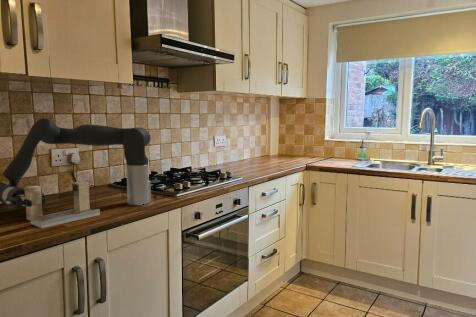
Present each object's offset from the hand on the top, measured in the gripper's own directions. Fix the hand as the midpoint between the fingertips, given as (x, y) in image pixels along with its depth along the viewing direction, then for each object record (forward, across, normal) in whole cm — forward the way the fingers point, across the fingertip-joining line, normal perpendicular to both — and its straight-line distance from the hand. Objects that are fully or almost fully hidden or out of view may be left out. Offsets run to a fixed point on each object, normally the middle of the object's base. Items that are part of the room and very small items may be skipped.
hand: (37, 202), depth 135 cm
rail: (+7, +7, +6) cm, 12 cm away
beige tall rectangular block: (-3, 0, +6) cm, 7 cm away
